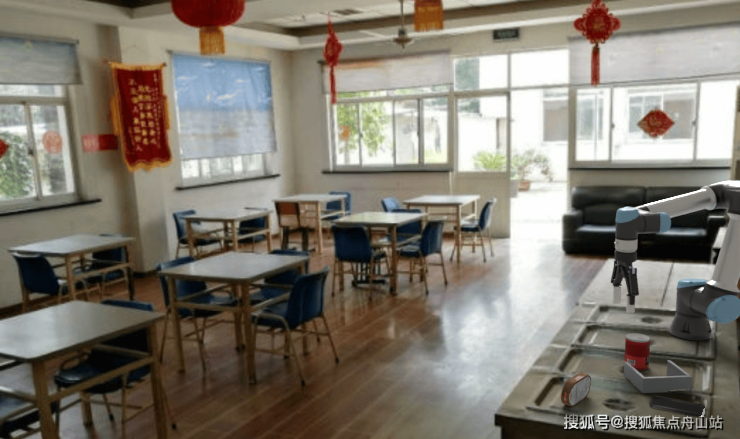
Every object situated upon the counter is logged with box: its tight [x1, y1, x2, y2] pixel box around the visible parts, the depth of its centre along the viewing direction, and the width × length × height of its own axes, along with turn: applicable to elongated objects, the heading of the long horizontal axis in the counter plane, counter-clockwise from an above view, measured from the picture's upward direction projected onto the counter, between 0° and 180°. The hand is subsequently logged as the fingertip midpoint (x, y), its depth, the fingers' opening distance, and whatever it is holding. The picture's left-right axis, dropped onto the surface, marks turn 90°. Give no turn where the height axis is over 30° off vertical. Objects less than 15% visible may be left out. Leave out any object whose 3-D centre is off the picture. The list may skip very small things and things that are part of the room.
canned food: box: [624, 332, 651, 371], centre depth 212 cm, size 8×8×11 cm
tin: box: [560, 371, 592, 407], centre depth 187 cm, size 15×3×8 cm, turn 133°
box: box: [623, 359, 693, 394], centre depth 198 cm, size 16×14×5 cm
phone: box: [649, 394, 706, 418], centre depth 182 cm, size 8×1×15 cm
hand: (623, 307), depth 222 cm, fingers open, 11 cm apart
